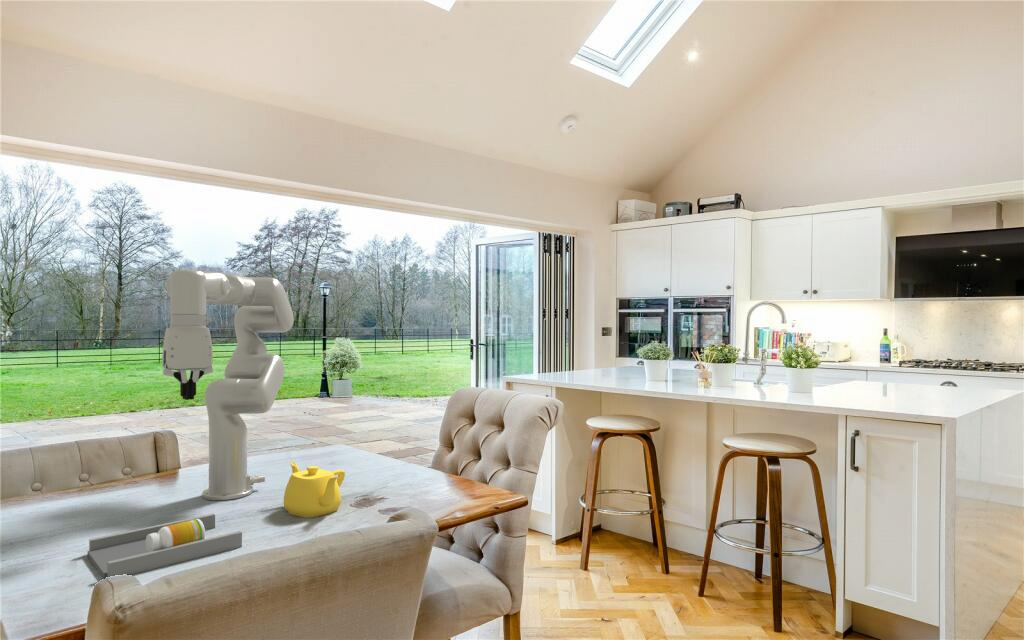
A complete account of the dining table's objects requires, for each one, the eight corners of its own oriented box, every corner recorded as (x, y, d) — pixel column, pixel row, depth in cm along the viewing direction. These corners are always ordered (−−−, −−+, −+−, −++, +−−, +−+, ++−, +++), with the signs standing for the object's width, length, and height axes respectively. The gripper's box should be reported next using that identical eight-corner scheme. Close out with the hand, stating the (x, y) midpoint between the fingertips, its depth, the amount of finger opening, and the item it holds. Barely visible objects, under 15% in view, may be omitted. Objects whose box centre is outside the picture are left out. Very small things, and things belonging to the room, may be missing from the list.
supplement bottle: (197, 512, 129) (147, 524, 121) (208, 530, 126) (156, 544, 118) (192, 532, 130) (141, 545, 123) (202, 550, 127) (151, 564, 120)
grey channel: (213, 526, 142) (213, 513, 142) (241, 546, 130) (242, 532, 130) (86, 554, 125) (86, 539, 125) (105, 580, 112) (105, 564, 112)
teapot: (368, 510, 154) (368, 467, 154) (312, 525, 143) (312, 479, 143) (321, 493, 169) (322, 454, 169) (267, 506, 158) (267, 464, 158)
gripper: (215, 321, 153) (215, 394, 154) (148, 321, 143) (148, 400, 143) (226, 322, 148) (226, 397, 148) (157, 322, 138) (157, 403, 138)
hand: (188, 398), depth 146 cm, fingers closed
